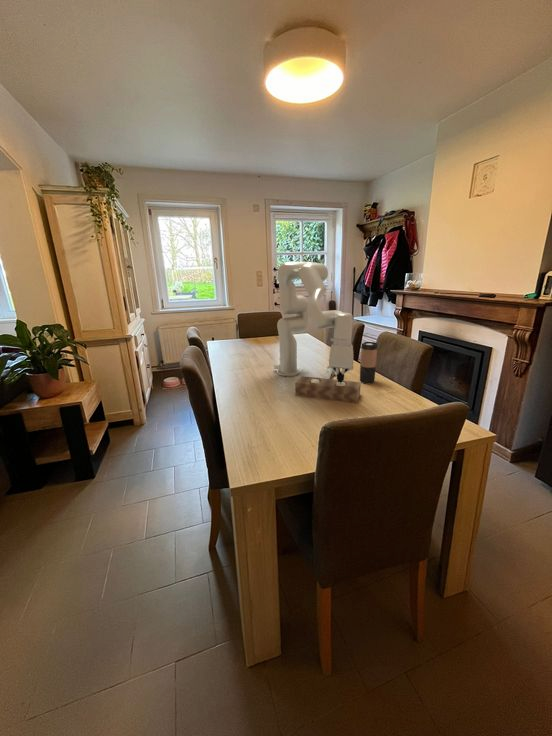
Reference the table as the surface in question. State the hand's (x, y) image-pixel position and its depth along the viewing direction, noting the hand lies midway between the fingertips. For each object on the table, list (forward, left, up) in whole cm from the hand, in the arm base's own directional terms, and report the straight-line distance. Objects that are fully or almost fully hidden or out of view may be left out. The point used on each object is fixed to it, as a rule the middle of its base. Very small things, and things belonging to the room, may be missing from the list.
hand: (340, 381), depth 137 cm
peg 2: (0, 0, -6) cm, 6 cm away
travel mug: (+9, +24, -7) cm, 27 cm away
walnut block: (-6, 0, -7) cm, 9 cm away
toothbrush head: (-10, +18, -8) cm, 22 cm away
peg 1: (-12, 0, -6) cm, 13 cm away
